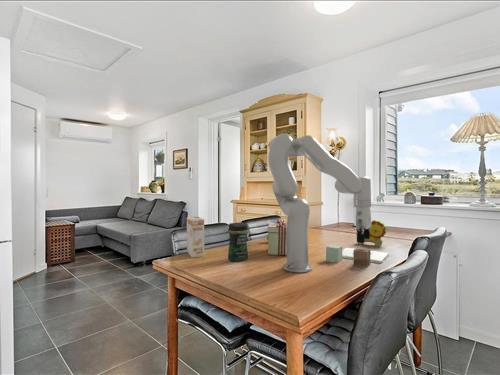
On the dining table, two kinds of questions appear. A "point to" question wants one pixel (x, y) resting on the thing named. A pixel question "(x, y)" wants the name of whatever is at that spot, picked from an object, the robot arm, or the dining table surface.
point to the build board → (374, 256)
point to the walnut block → (361, 257)
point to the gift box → (277, 238)
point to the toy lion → (376, 233)
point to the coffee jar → (238, 241)
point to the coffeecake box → (195, 236)
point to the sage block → (334, 253)
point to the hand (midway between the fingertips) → (363, 240)
